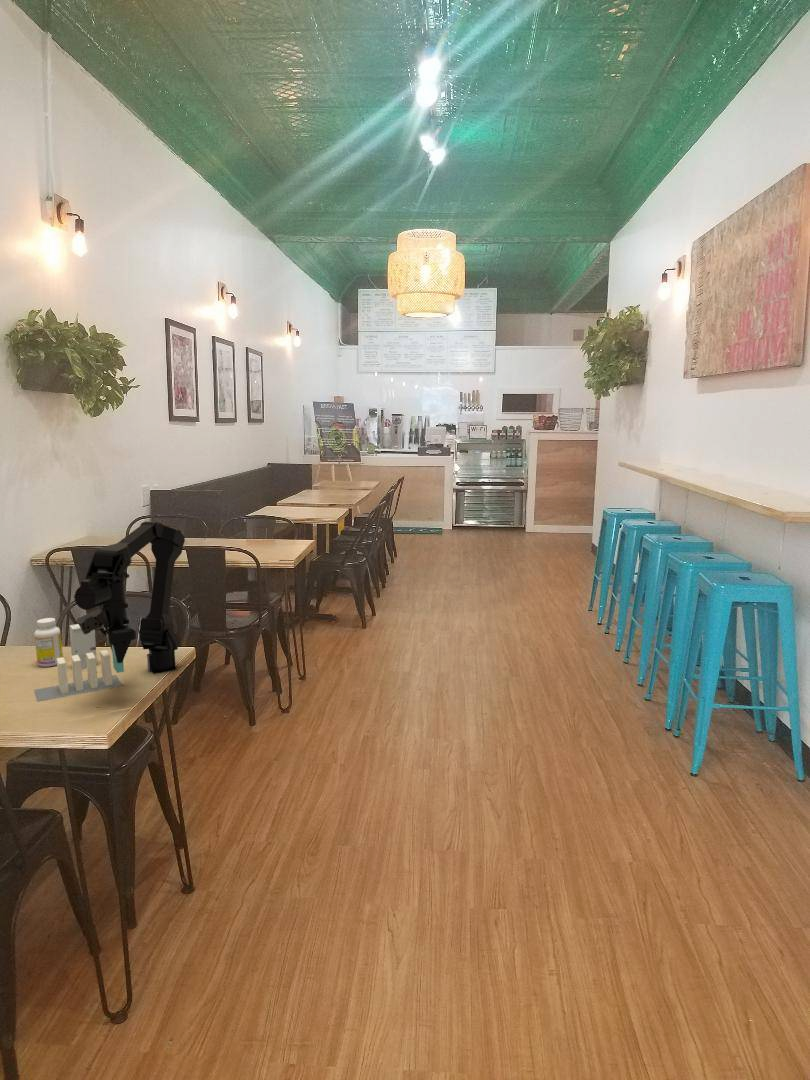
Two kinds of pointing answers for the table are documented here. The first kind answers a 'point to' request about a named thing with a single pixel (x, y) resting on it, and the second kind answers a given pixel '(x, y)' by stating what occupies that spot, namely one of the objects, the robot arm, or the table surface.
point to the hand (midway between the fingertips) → (117, 659)
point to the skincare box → (82, 644)
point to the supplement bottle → (48, 642)
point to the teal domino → (117, 666)
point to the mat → (73, 689)
